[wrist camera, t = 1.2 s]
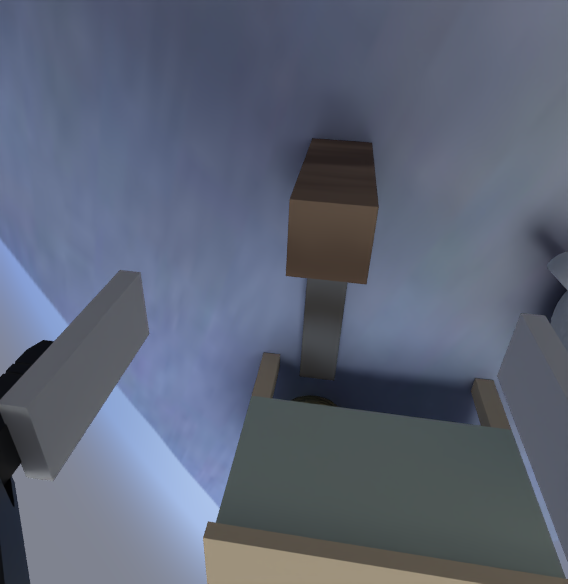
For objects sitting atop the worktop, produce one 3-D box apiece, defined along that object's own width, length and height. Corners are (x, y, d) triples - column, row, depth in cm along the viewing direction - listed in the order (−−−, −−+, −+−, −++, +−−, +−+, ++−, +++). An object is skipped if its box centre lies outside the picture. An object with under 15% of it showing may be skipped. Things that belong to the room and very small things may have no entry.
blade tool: (312, 138, 31) (289, 199, 21) (372, 142, 30) (378, 207, 20) (296, 360, 41) (276, 474, 31) (340, 366, 41) (335, 483, 31)
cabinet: (259, 348, 41) (203, 538, 26) (499, 377, 39) (585, 600, 24) (257, 436, 47) (211, 631, 32) (465, 465, 45) (517, 687, 30)
